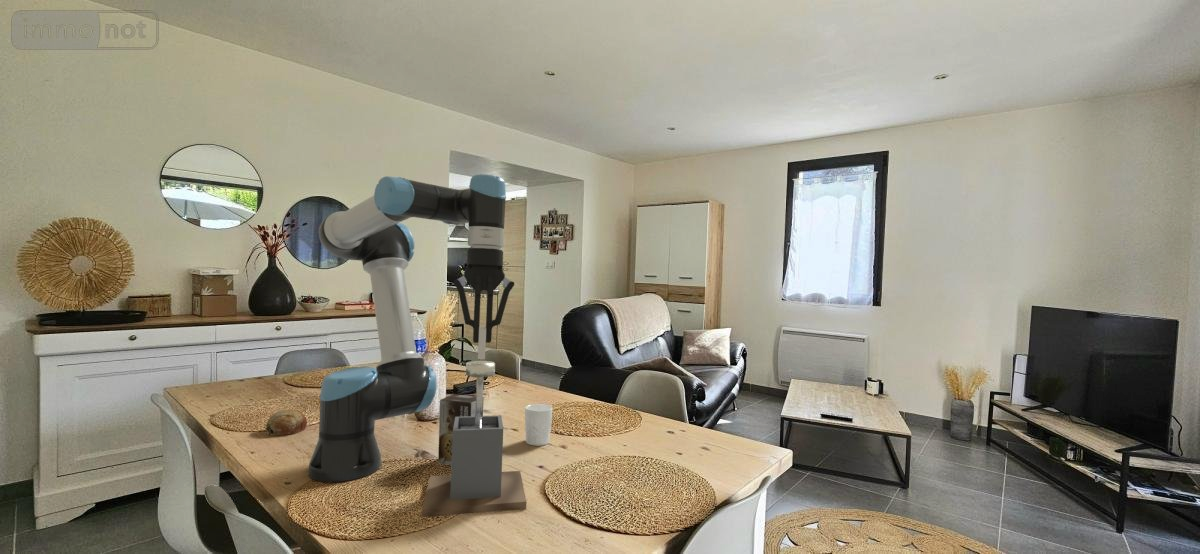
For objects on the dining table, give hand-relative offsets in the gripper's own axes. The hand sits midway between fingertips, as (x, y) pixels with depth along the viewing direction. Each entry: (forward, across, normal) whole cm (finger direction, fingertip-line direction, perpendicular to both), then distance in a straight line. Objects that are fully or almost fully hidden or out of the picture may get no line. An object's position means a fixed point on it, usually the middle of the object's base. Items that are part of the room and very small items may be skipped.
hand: (481, 358), depth 102 cm
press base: (+29, 0, 0) cm, 29 cm away
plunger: (+16, 0, 0) cm, 16 cm away
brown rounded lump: (+30, -54, +52) cm, 81 cm away
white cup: (+30, +17, +32) cm, 47 cm away
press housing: (+28, 0, 0) cm, 28 cm away
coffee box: (+30, -4, +20) cm, 36 cm away
